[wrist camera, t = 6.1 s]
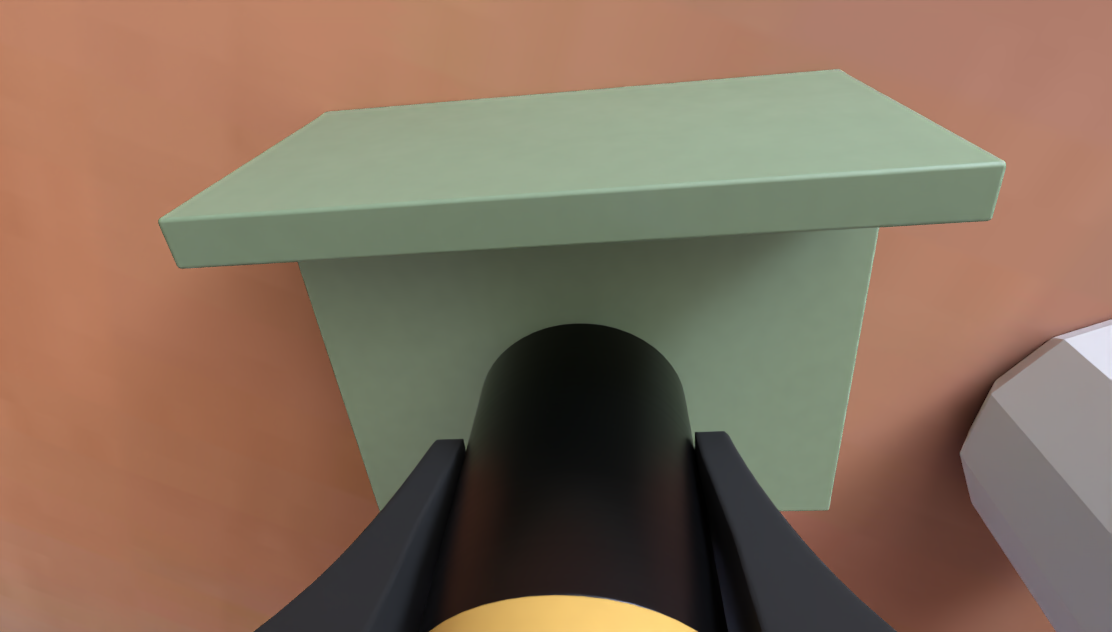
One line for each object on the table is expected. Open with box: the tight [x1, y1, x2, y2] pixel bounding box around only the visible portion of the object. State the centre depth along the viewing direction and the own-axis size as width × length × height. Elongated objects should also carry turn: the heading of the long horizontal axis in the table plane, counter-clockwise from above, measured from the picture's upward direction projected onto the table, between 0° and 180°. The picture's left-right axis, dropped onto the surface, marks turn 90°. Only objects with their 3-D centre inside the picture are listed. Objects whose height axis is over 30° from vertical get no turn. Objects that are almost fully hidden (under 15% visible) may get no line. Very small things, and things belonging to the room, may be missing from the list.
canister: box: [419, 323, 728, 632], centre depth 12 cm, size 5×5×8 cm
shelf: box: [158, 69, 1006, 511], centre depth 17 cm, size 12×14×8 cm
